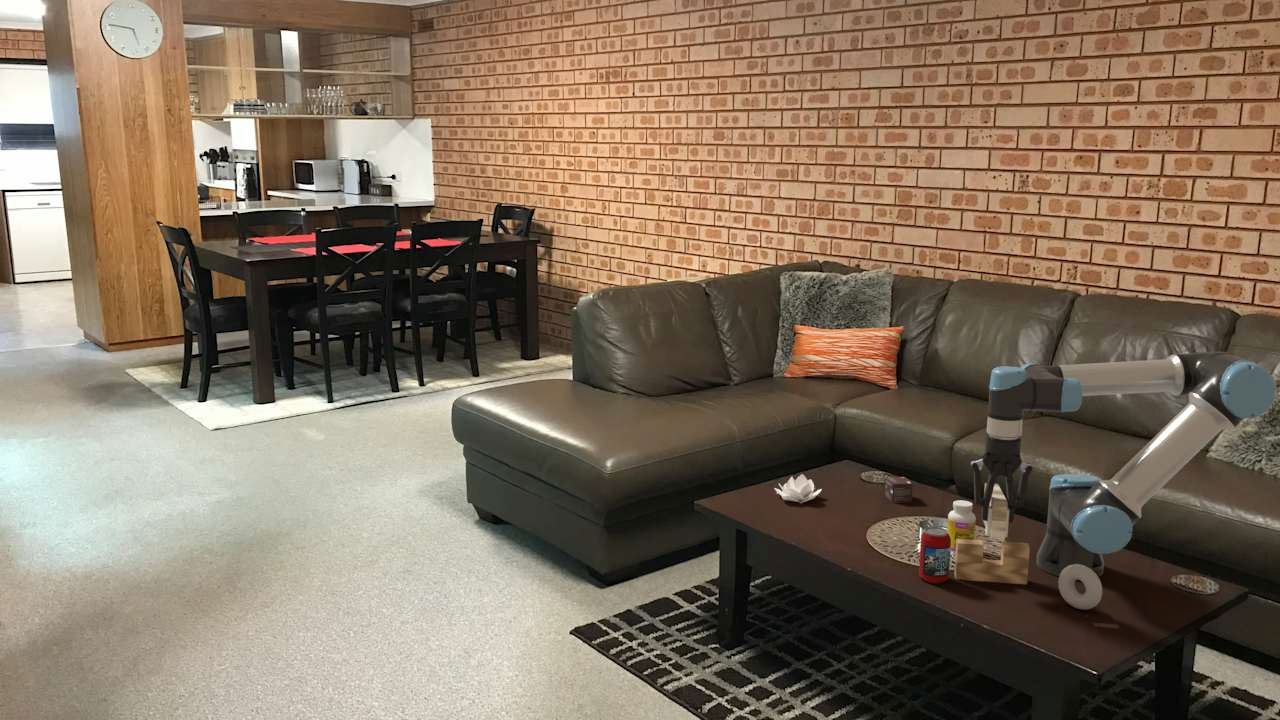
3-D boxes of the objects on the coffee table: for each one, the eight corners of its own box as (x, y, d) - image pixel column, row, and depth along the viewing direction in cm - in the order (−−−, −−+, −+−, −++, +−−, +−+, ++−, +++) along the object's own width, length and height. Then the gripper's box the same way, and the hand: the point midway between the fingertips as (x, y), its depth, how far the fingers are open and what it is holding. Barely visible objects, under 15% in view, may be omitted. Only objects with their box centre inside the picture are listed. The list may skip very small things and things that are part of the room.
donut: (1103, 614, 228) (1107, 570, 226) (1094, 618, 226) (1098, 574, 224) (1062, 598, 236) (1065, 556, 234) (1053, 602, 234) (1056, 560, 232)
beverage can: (928, 586, 242) (931, 537, 240) (913, 575, 249) (916, 527, 246) (954, 583, 244) (957, 534, 242) (938, 572, 251) (941, 524, 248)
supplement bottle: (950, 556, 260) (953, 507, 258) (942, 547, 267) (945, 499, 264) (977, 556, 261) (980, 507, 258) (968, 547, 267) (971, 498, 265)
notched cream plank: (982, 519, 251) (984, 483, 249) (995, 519, 251) (997, 483, 249) (990, 539, 237) (993, 501, 236) (1004, 540, 237) (1007, 502, 235)
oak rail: (1024, 579, 247) (1027, 543, 245) (1026, 584, 244) (1029, 547, 242) (954, 574, 249) (956, 538, 248) (955, 579, 246) (958, 543, 245)
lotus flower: (832, 511, 294) (833, 481, 292) (781, 515, 291) (782, 485, 289) (813, 495, 308) (814, 467, 306) (764, 499, 304) (765, 470, 303)
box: (884, 501, 302) (885, 477, 301) (904, 500, 303) (905, 476, 302) (891, 508, 297) (892, 483, 295) (912, 507, 297) (913, 483, 296)
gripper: (1038, 433, 237) (1029, 531, 242) (964, 429, 240) (957, 526, 245) (1044, 441, 230) (1036, 542, 235) (968, 437, 233) (961, 537, 237)
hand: (996, 534), depth 240 cm, fingers closed on notched cream plank, 3 cm apart
